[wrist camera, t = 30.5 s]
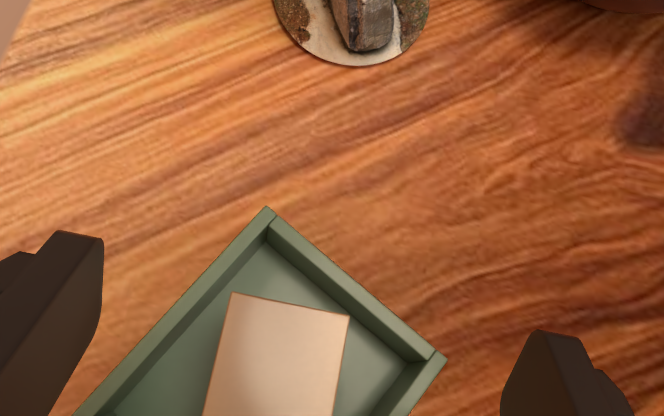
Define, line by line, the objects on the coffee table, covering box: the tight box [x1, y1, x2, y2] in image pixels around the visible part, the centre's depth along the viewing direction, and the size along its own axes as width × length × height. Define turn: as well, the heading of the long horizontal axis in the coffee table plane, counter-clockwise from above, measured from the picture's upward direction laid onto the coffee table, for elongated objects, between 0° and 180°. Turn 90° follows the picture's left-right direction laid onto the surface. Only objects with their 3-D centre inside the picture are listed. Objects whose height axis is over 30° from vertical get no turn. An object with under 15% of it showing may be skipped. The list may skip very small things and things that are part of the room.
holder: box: [71, 206, 448, 416], centre depth 24 cm, size 9×10×4 cm
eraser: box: [201, 291, 350, 416], centre depth 21 cm, size 4×5×8 cm
